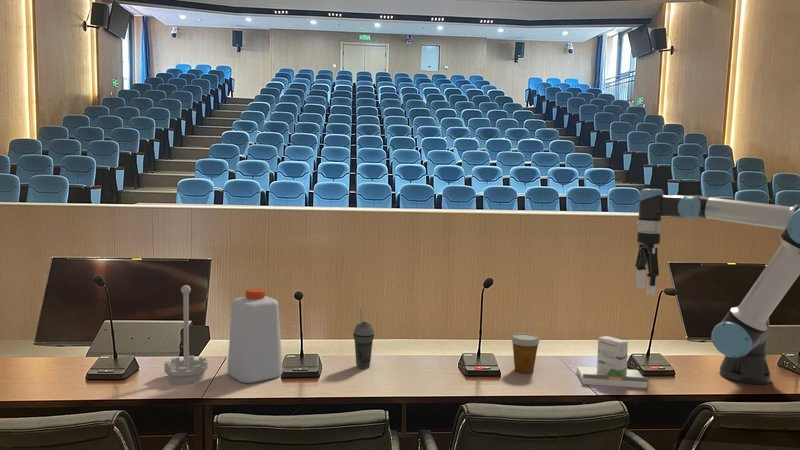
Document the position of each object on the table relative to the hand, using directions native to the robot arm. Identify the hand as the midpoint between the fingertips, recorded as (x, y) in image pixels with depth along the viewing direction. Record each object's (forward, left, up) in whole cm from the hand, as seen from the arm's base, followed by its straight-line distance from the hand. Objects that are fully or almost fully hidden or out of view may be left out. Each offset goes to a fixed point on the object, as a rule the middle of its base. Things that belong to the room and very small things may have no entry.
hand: (645, 291), depth 215 cm
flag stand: (+151, +45, -27) cm, 160 cm away
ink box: (+15, +20, -25) cm, 35 cm away
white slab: (+15, +20, -27) cm, 37 cm away
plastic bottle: (+131, +38, -27) cm, 139 cm away
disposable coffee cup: (+43, +16, -27) cm, 53 cm away
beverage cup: (+98, +23, -27) cm, 104 cm away
